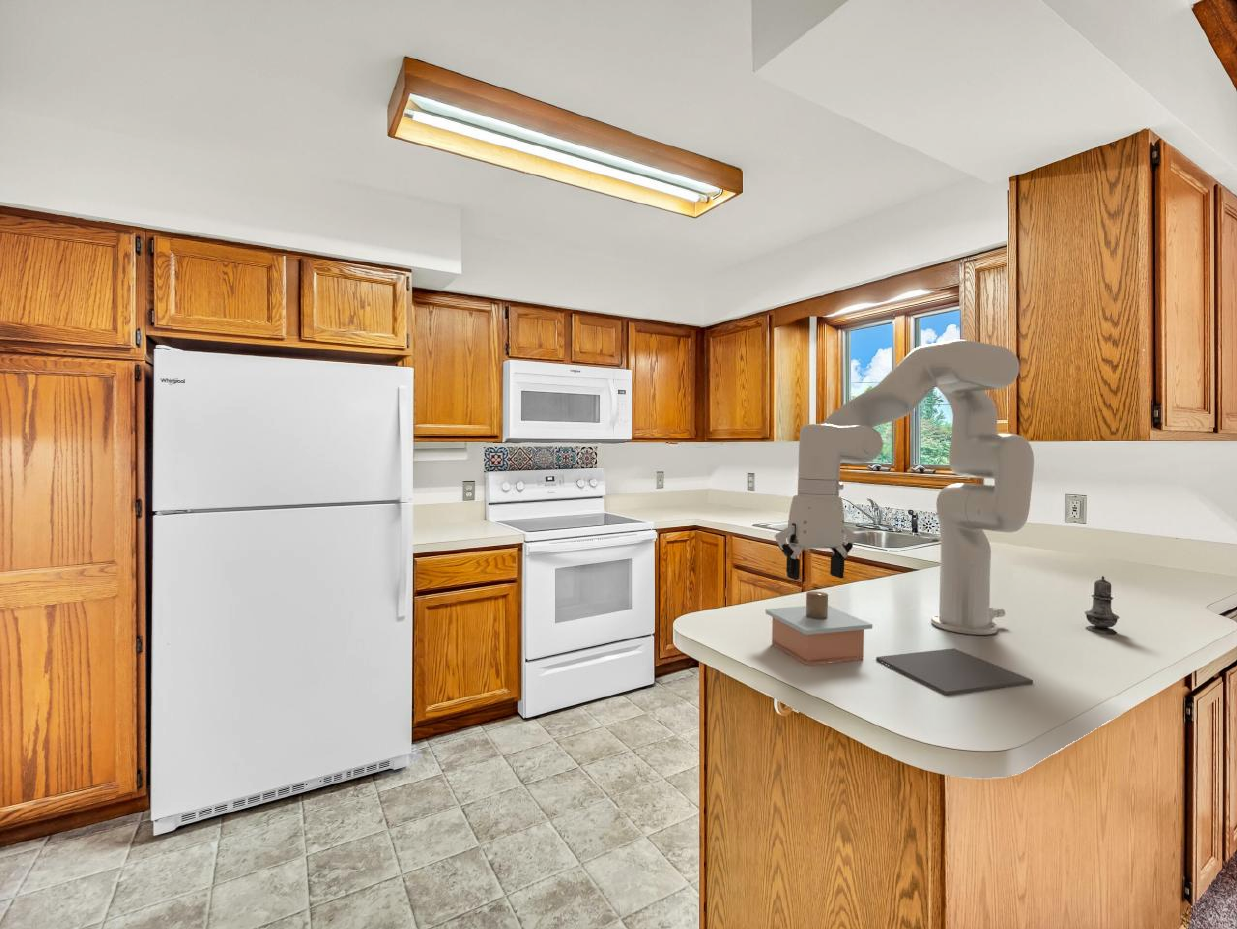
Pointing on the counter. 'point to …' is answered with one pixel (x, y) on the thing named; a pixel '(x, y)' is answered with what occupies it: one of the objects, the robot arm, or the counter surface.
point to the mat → (953, 671)
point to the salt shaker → (1102, 609)
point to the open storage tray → (818, 644)
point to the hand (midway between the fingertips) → (815, 577)
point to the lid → (817, 616)
